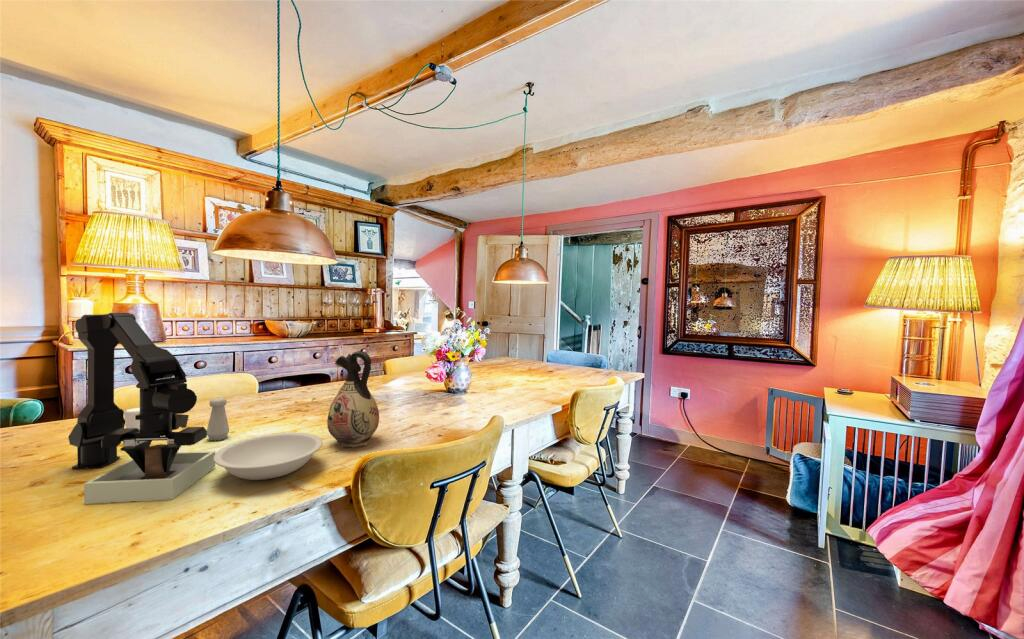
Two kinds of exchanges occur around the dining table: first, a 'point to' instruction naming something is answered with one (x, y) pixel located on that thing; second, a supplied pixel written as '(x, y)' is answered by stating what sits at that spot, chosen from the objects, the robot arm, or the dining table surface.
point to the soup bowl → (268, 455)
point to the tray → (148, 480)
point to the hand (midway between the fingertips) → (156, 471)
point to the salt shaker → (218, 420)
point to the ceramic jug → (353, 405)
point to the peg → (154, 463)
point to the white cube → (132, 418)
